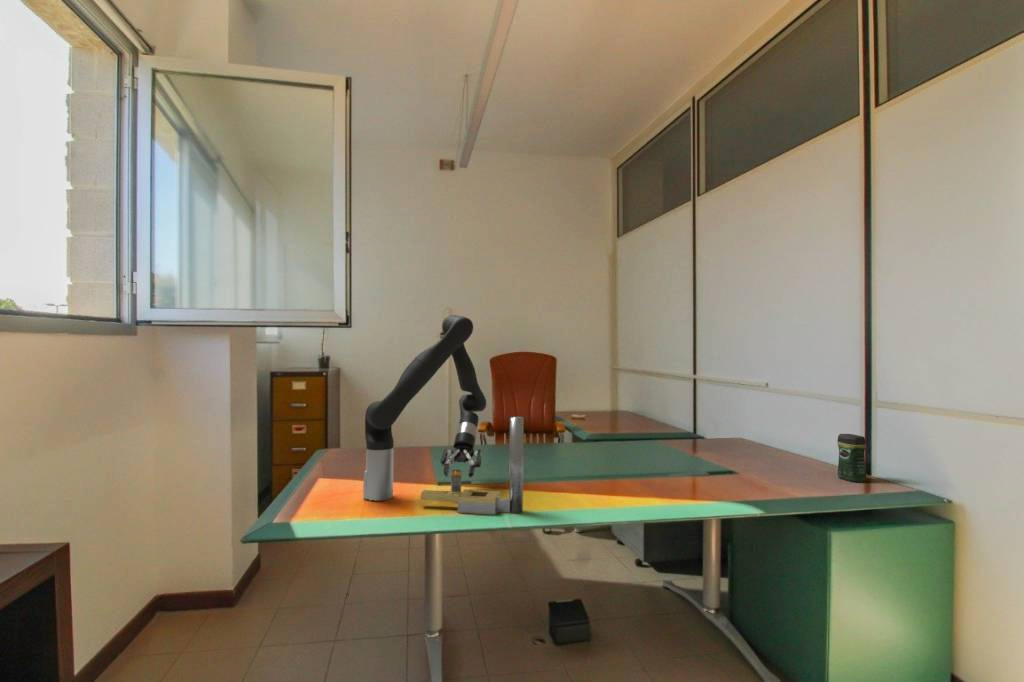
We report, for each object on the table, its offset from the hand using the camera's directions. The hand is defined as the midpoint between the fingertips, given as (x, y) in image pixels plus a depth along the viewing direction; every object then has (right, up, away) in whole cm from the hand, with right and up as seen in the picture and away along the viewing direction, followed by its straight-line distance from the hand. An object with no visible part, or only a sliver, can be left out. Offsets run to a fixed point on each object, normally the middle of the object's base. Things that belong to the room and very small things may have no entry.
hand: (458, 475), depth 177 cm
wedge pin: (0, -8, -3) cm, 8 cm away
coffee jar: (+158, -10, +30) cm, 161 cm away
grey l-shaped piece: (+6, -7, -13) cm, 16 cm away
